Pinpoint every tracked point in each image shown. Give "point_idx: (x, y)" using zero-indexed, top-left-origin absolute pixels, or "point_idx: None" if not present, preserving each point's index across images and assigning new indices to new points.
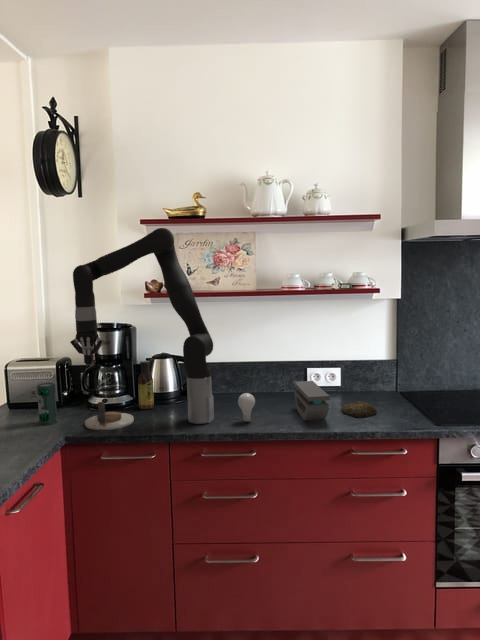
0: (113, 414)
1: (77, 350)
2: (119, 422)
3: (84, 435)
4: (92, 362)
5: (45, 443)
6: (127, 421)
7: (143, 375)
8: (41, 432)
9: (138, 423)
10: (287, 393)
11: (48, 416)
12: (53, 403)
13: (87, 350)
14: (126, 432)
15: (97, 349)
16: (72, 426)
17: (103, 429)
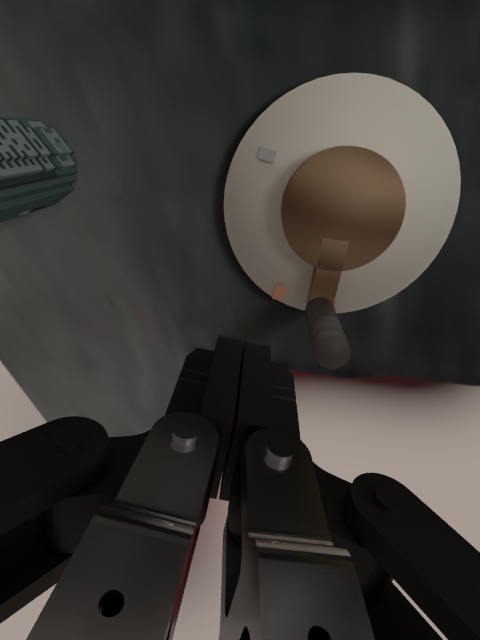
0: (364, 206)
1: (1, 562)
2: (389, 263)
3: None
4: (285, 373)
5: (150, 405)
6: (426, 253)
7: None
8: (80, 298)
9: (472, 237)
10: None
11: (39, 207)
12: (20, 193)
13: (224, 600)
14: (413, 345)
15: (440, 567)
16: (176, 238)
17: None
